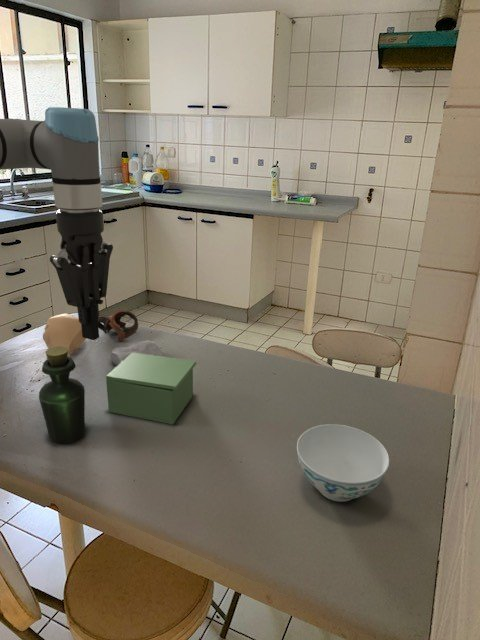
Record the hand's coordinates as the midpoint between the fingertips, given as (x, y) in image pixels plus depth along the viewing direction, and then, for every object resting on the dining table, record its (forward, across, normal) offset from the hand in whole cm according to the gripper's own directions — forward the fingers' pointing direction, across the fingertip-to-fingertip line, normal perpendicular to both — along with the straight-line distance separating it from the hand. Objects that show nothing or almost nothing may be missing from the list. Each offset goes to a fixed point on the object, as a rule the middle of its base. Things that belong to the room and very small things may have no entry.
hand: (90, 337), depth 86 cm
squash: (+20, -20, -30) cm, 41 cm away
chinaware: (+19, -6, +48) cm, 52 cm away
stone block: (+20, -25, -9) cm, 33 cm away
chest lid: (+11, -12, +5) cm, 17 cm away
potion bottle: (+20, +5, -3) cm, 21 cm away
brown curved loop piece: (+20, -36, -26) cm, 48 cm away
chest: (+19, -12, +5) cm, 23 cm away
